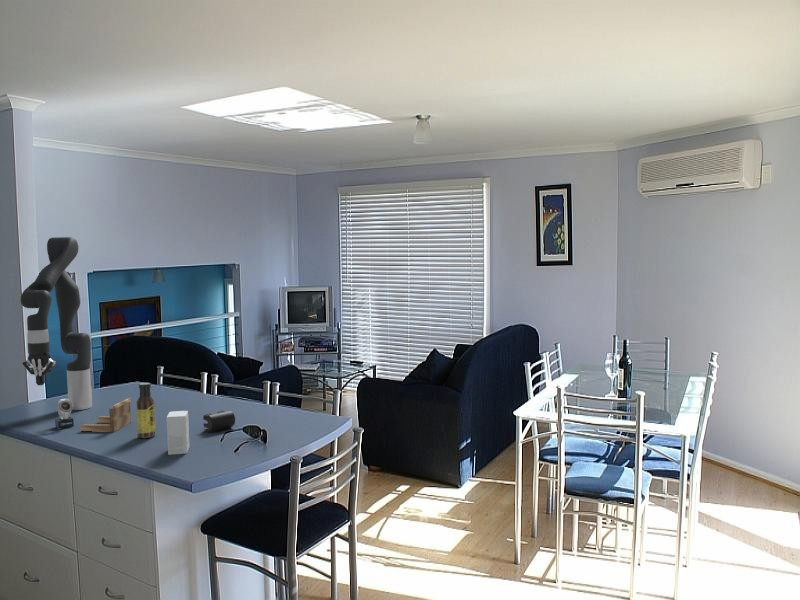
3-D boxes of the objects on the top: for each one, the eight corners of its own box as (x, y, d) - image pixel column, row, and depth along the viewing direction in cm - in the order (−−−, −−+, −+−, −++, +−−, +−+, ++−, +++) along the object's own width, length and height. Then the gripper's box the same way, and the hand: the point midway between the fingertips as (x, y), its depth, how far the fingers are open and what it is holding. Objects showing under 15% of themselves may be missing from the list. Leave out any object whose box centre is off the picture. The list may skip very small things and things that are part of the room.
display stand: (99, 422, 270) (98, 397, 269) (133, 422, 269) (132, 397, 268) (81, 431, 256) (79, 405, 255) (116, 431, 255) (114, 405, 254)
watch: (60, 430, 259) (58, 402, 258) (54, 426, 265) (52, 398, 264) (75, 427, 263) (74, 399, 262) (69, 423, 269) (68, 396, 268)
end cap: (212, 434, 251) (212, 416, 250) (202, 431, 255) (202, 413, 255) (235, 429, 258) (235, 411, 257) (225, 425, 263) (225, 408, 262)
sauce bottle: (154, 438, 246) (152, 384, 244) (136, 439, 244) (134, 385, 243) (156, 433, 252) (154, 381, 251) (139, 435, 251) (136, 382, 249)
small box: (170, 448, 233) (169, 411, 232) (189, 446, 235) (188, 410, 234) (167, 455, 225) (166, 416, 224) (187, 453, 227) (185, 415, 226)
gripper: (60, 339, 265) (62, 383, 266) (28, 339, 266) (30, 383, 267) (49, 342, 258) (51, 387, 259) (16, 342, 258) (18, 387, 260)
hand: (40, 385), depth 263 cm, fingers closed
